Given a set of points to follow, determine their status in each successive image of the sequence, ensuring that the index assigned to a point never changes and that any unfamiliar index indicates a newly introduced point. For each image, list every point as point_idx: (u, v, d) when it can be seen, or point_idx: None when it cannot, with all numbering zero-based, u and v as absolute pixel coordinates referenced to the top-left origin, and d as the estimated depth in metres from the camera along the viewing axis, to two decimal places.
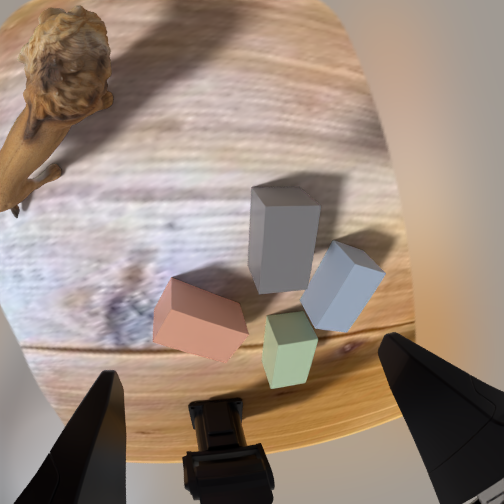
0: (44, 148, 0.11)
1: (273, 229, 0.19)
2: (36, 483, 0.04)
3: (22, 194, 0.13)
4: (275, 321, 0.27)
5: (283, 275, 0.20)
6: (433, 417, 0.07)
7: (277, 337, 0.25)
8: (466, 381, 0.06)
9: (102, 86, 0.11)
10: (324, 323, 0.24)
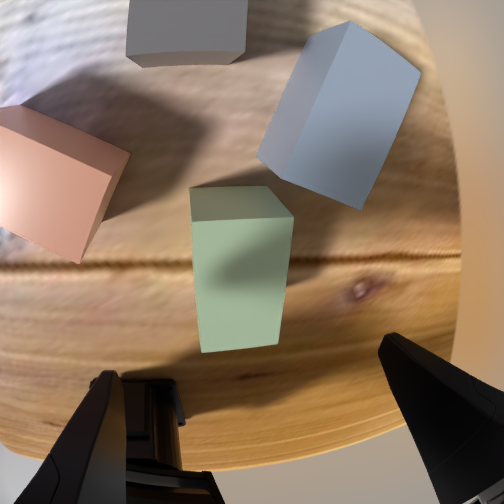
0: None
1: None
2: (36, 483, 0.04)
3: None
4: (203, 193, 0.13)
5: (180, 11, 0.07)
6: (433, 417, 0.07)
7: (197, 211, 0.11)
8: (466, 381, 0.06)
9: None
10: (304, 166, 0.10)
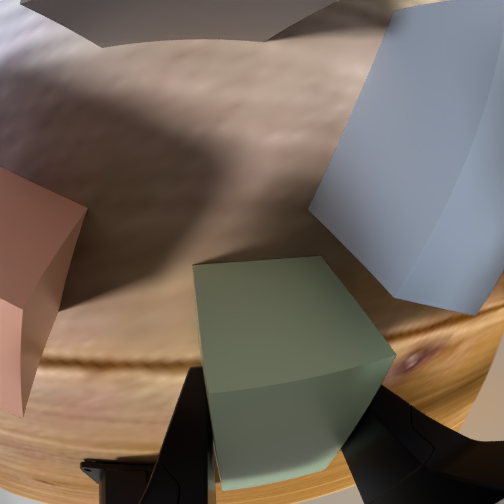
0: None
1: None
2: (145, 497, 0.04)
3: None
4: (219, 287, 0.07)
5: None
6: (364, 448, 0.06)
7: (215, 351, 0.05)
8: (402, 413, 0.06)
9: None
10: (433, 269, 0.04)
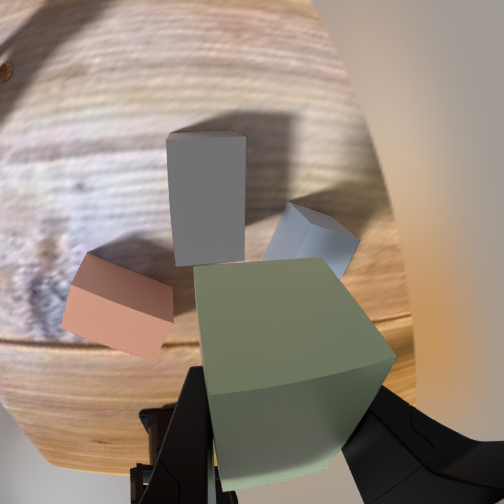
0: None
1: (181, 171, 0.13)
2: (145, 497, 0.04)
3: None
4: (220, 288, 0.07)
5: (204, 239, 0.15)
6: (364, 448, 0.06)
7: (216, 352, 0.05)
8: (402, 413, 0.06)
9: None
10: None
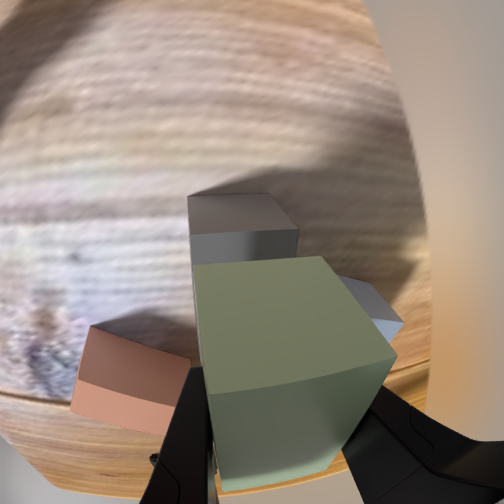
0: None
1: None
2: (145, 497, 0.04)
3: None
4: (220, 287, 0.07)
5: None
6: (364, 448, 0.06)
7: (215, 351, 0.05)
8: (402, 413, 0.06)
9: None
10: None
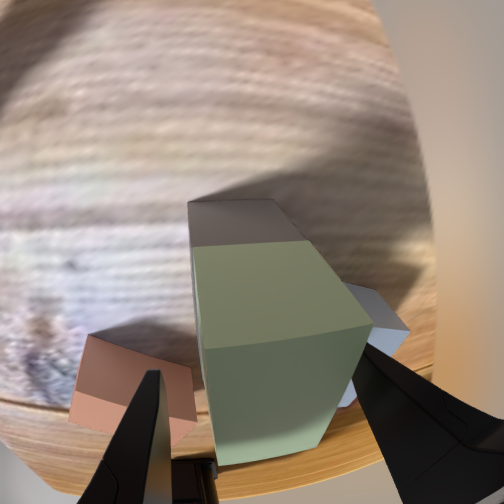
0: None
1: None
2: (89, 492, 0.04)
3: None
4: (216, 264, 0.08)
5: None
6: (400, 433, 0.07)
7: (211, 315, 0.06)
8: (436, 397, 0.06)
9: None
10: None
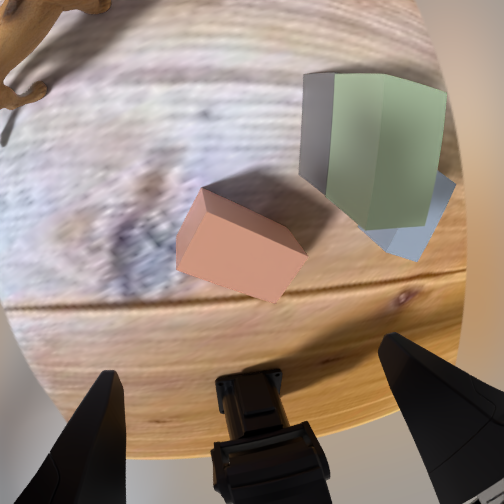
0: (25, 26, 0.06)
1: None
2: (36, 483, 0.04)
3: None
4: None
5: None
6: (433, 417, 0.07)
7: (375, 74, 0.09)
8: (466, 381, 0.06)
9: None
10: (396, 244, 0.18)
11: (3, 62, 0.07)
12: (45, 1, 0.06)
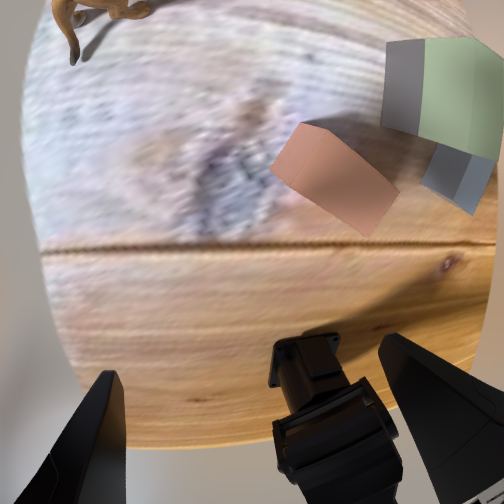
0: None
1: None
2: (36, 483, 0.04)
3: None
4: None
5: None
6: (433, 417, 0.07)
7: (464, 39, 0.09)
8: (466, 381, 0.06)
9: None
10: (460, 195, 0.18)
11: None
12: None
